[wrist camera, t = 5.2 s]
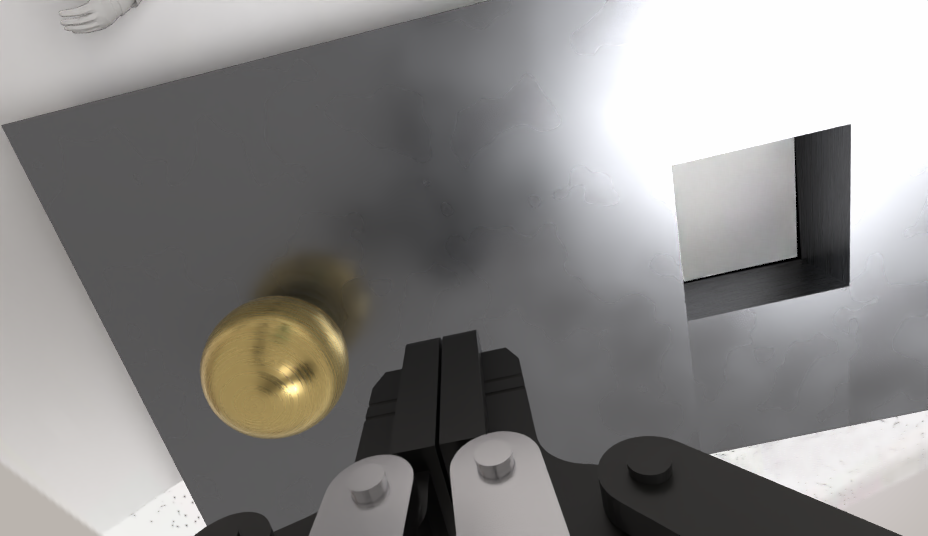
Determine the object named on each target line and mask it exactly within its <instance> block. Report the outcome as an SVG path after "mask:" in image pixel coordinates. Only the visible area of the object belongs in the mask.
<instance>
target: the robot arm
mask: <svg viewBox="0 0 928 536" xmlns="http://www.w3.org/2000/svg"><path fill="white" fill-rule="evenodd" d="M365 418H366V421H365V422H364V426H363V430H362V434H361V438H360V442H359V446H358V451H357V455H356V459H355V463H354V464H352V465H350V466H348V467H347V468H346V469H344V470H343V471H342V472H340V473H339V474H338V475H337V476H336V477H335V478H334V479H333V480H332V482H331V483H330V485H329V486H328V488H327V490H326V492H325V495H324V497H323V500H322V503H321V505H320V508H319V510H318V512H316V513H314V514H312V515H310V516H308V517H306V518H304V519H301V520H299V521H297V522H295V523H292V524H290V525H288V526H286V527H283V528H281V529H279V530H277V531H274V532H273V529H272V527H271V525H270V523H269V521H268V519H267V518H266V517H265V516H263V515H262V514H259V513H256V512H241V513H236V514H232V515H229V516H226V517H224V518H221V519H219V520H217V521H215V522H213V523H212V524H210V525H208V526H207V527H205V528H204V529H202V530H201V531H200V532H198V533H197V534H196V535H194V536H902V535H899V534H897V533H894V532H892V531H890V530H887V529H885V528H883V527H880V526H878V525H875V524H873V523H871V522H868V521H866V520H864V519H861V518H859V517H856V516H854V515H852V514H849V513H847V512H845V511H842V510H840V509H837V508H835V507H833V506H830V505H828V504H826V503H823V502H821V501H818V500H816V499H814V498H811V497H809V496H807V495H804V494H802V493H799V492H797V491H795V490H792V489H790V488H787V487H785V486H783V485H780V484H778V483H776V482H773V481H771V480H768V479H766V478H764V477H761V476H759V475H757V474H754V473H752V472H749V471H747V470H745V469H742V468H740V467H737V466H735V465H733V464H730V463H728V462H726V461H723V460H721V459H718V458H716V457H714V456H711V455H709V454H706V453H704V452H702V451H699V450H697V449H695V448H692V447H690V446H687V445H685V444H683V443H680V442H678V441H675V440H672V439H669V438H664V437H657V436H640V437H634V438H629V439H626V440H623V441H621V442H619V443H617V444H615V445H613V446H612V447H611V448H609V449H608V450H607V451H606V452H605V453H604V454H603V456H602V457H601V459H600V461H599V464H598V465H597V464H581V463H573V462H568V461H564V460H562V459H559V458H557V457H555V456H553V455H551V454H550V453H548V452H547V451H546V450H545V449H544V448H543V447H542V446H541V445H540V443H539V441H538V439H537V436H536V431H535V427H534V423H533V418H532V414H531V409H530V405H529V401H528V396H527V392H526V388H525V383H524V379H523V374H522V370H521V366H520V361H519V358H518V357H517V356H516V355H515V354H513V353H512V352H511V351H510V350H508V349H507V348H506V347H505V348H500V349H495V350H491V351H486V352H482V347H481V343H480V339H479V335H478V332H477V330H472V331H467V332H462V333H458V334H453V335H448V336H443V338H442V339H441V337H439V338H434V339H429V340H424V341H420V342H415V343H410V344H406V347H405V354H404V360H403V366H402V369H399V370H394V371H389V372H385V374H384V375H383V376H382V377H381V378H380V380H379V381H378V382H377V383H376V385H375V386H374V387H373V388H372V392H371V397H370V401H369V407H368V409H367V413H366V417H365Z"/></svg>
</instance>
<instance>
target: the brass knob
mask: <svg viewBox="0 0 928 536" xmlns="http://www.w3.org/2000/svg"><path fill="white" fill-rule="evenodd" d="M348 371H349V356H348V349H347V345H346V342H345V339H344V337H343V335H342V332H341V331H340V329H339V327H338V326H337V324H336V323H335V322H334V321H333V319H332V318H331V317H330V316H329V315H328V314H327V313H326V312H324V311H323V310H322V309H320V308H319V307H317V306H316V305H314V304H312V303H310V302H308V301H305V300H302V299H299V298H295V297H290V296H268V297H262V298H258V299H255V300H251V301H249V302H247V303H244V304H242V305H241V306H239V307H237V308H236V309H234V310H232V311H231V312H230V313H229V314H228V315H226V316H225V317H224V318H223V319H222V320H221V321H220V322H219V323H218V324H217V326H216V327H215V328H214V330H213V331H212V333H211V334H210V336H209V338H208V340H207V342H206V345H205V347H204V350H203V353H202V357H201V364H200V379H201V385H202V389H203V393H204V395H205V398H206V400H207V402H208V404H209V405H210V407H211V409H212V410H213V412H214V413H215V414H216V415H217V416H218V417H219V419H220V420H222V421H223V422H224V423H225V424H226V425H228V426H229V427H231V428H232V429H234V430H236V431H238V432H240V433H243V434H245V435H248V436H251V437H256V438H261V439H279V438H285V437H290V436H293V435H297V434H299V433H302V432H304V431H306V430H308V429H310V428H311V427H313V426H315V425H316V424H317V423H319V422H320V421H321V420H322V419H324V418H325V417H326V416H327V415H328V414H329V413H330V412H331V410H332V409H333V408H334V406H335V405H336V404H337V402H338V401H339V399H340V397H341V395H342V393H343V391H344V388H345V385H346V382H347V377H348Z"/></svg>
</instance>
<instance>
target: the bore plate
mask: <svg viewBox="0 0 928 536" xmlns="http://www.w3.org/2000/svg"><path fill="white" fill-rule="evenodd" d="M1 126H2V127H3V129H4V131H5V133H6V135H7V137H8V139H9V141H10V143H11V145H12V147H13V149H14V151H15V153H16V155H17V157H18V159H19V161H20V163H21V164H22V166H23V168H24V170H25V172H26V174H27V176H28V178H29V180H30V182H31V184H32V186H33V188H34V190H35V192H36V194H37V196H38V198H39V200H40V202H41V203H42V205H43V207H44V209H45V211H46V213H47V215H48V217H49V219H50V221H51V223H52V225H53V227H54V229H55V231H56V233H57V235H58V237H59V239H60V241H61V242H62V244H63V246H64V248H65V250H66V252H67V254H68V256H69V258H70V260H71V262H72V264H73V266H74V268H75V270H76V272H77V274H78V276H79V278H80V279H81V281H82V283H83V285H84V287H85V289H86V291H87V293H88V295H89V297H90V299H91V301H92V303H93V305H94V307H95V309H96V311H97V313H98V315H99V317H100V318H101V320H102V322H103V324H104V326H105V328H106V330H107V332H108V334H109V336H110V338H111V340H112V342H113V344H114V346H115V348H116V350H117V352H118V354H119V356H120V357H121V359H122V361H123V363H124V365H125V367H126V369H127V371H128V373H129V375H130V377H131V379H132V381H133V383H134V385H135V387H136V389H137V391H138V393H139V395H140V396H141V398H142V400H143V402H144V404H145V406H146V408H147V410H148V412H149V414H150V416H151V418H152V420H153V422H154V424H155V426H156V428H157V430H158V432H159V433H160V435H161V437H162V439H163V441H164V443H165V445H166V447H167V449H168V451H169V453H170V455H171V457H172V459H173V461H174V463H175V465H176V467H177V469H178V471H179V472H180V474H181V476H182V478H183V480H184V482H185V484H186V486H187V488H188V490H189V492H190V494H191V496H192V498H193V500H194V502H195V504H196V506H197V508H198V510H199V511H200V513H201V515H202V517H203V519H204V521H205V523H206V525H207V526H208V525H210V524H212V523H213V522H215V521H217V520H219V519H221V518H224V517H226V516H229V515H232V514H236V513H241V512H256V513H259V514H262V515H263V516H265V517H266V518H267V519H268V521H269V523H270V525H271V527H272V529H273V532H274V531H277V530H279V529H281V528H283V527H286V526H288V525H290V524H292V523H295V522H297V521H299V520H301V519H304V518H306V517H308V516H310V515H312V514H314V513H316V512H318V510H319V508H320V505H321V503H322V500H323V497H324V495H325V492H326V490H327V488H328V486H329V485H330V483H331V482H332V480H333V479H334V478H335V477H336V476H337V475H338V474H339V473H340V472H342V471H343V470H344V469H346V468H347V467H348V466H350V465H352V464H354V463H355V459H356V455H357V451H358V446H359V442H360V438H361V434H362V430H363V426H364V422H365V421H366V418H365V417H366V413H367V409H368V407H369V401H370V397H371V392H372V388H373V387H374V386H375V385H376V383H377V382H378V381H379V380H380V378H381V377H382V376H383V375H384V374H385V372H389V371H394V370H399V369H402V366H403V360H404V354H405V347H406V344H410V343H415V342H420V341H424V340H429V339H434V338H439V337H441V339H442V338H443V336H448V335H453V334H458V333H462V332H467V331H472V330H477V332H478V335H479V339H480V343H481V347H482V352H486V351H491V350H495V349H500V348H505V347H506V348H507V349H508V350H510V351H511V352H512V353H513V354H515V355H516V356H517V357H518V358H519V361H520V366H521V370H522V374H523V379H524V383H525V388H526V392H527V396H528V401H529V405H530V409H531V414H532V418H533V423H534V427H535V431H536V436H537V439H538V441H539V443H540V445H541V446H542V447H543V448H544V449H545V450H546V451H547V452H548V453H550V454H551V455H553V456H555V457H557V458H559V459H562V460H564V461H568V462H573V463H581V464H597V465H598V464H599V461H600V459H601V457H602V456H603V454H604V453H605V452H606V451H607V450H608V449H609V448H611V447H612V446H613V445H615V444H617V443H619V442H621V441H623V440H626V439H629V438H634V437H640V436H657V437H664V438H669V439H672V440H675V441H678V442H680V443H683V444H685V445H687V446H690V447H692V448H695V449H697V450H699V451H702V452H704V453H706V454H712V453H717V452H722V451H727V450H732V449H737V448H742V447H747V446H752V445H757V444H762V443H767V442H772V441H777V440H782V439H787V438H792V437H797V436H802V435H807V434H812V433H817V432H821V431H826V430H831V429H836V428H841V427H846V426H851V425H856V424H861V423H866V422H871V421H876V420H881V419H886V418H891V417H896V416H901V415H906V414H911V413H916V412H921V411H926V410H928V0H489V1H486V2H482V3H478V4H474V5H470V6H466V7H462V8H458V9H454V10H450V11H446V12H443V13H439V14H435V15H431V16H427V17H423V18H419V19H415V20H411V21H407V22H403V23H400V24H396V25H392V26H388V27H384V28H380V29H376V30H372V31H368V32H364V33H360V34H357V35H353V36H349V37H345V38H341V39H337V40H333V41H329V42H325V43H321V44H317V45H314V46H310V47H306V48H302V49H298V50H294V51H290V52H286V53H282V54H278V55H274V56H271V57H267V58H263V59H259V60H255V61H251V62H247V63H243V64H239V65H235V66H231V67H228V68H224V69H220V70H216V71H212V72H208V73H204V74H200V75H196V76H192V77H188V78H185V79H181V80H177V81H173V82H169V83H165V84H161V85H157V86H153V87H149V88H145V89H142V90H138V91H134V92H130V93H126V94H122V95H118V96H114V97H110V98H106V99H102V100H99V101H95V102H91V103H87V104H83V105H79V106H75V107H71V108H67V109H63V110H60V111H56V112H52V113H48V114H44V115H40V116H36V117H32V118H28V119H24V120H20V121H17V122H13V123H9V124H5V125H1ZM792 137H794V151H795V190H796V230H797V257H793V258H788V259H784V260H779V261H775V262H770V263H766V264H761V265H757V266H752V267H748V268H743V269H739V270H734V271H729V272H725V273H720V274H716V275H711V276H707V277H702V278H698V279H693V280H689V281H684V282H683V274H682V264H681V254H680V245H679V235H678V225H677V216H676V206H675V196H674V187H673V177H672V167H671V166H672V165H676V164H680V163H684V162H689V161H693V160H697V159H702V158H706V157H710V156H714V155H719V154H723V153H727V152H732V151H736V150H740V149H744V148H749V147H753V146H757V145H762V144H766V143H770V142H774V141H779V140H783V139H787V138H792ZM268 296H290V297H295V298H299V299H302V300H305V301H308V302H310V303H312V304H314V305H316V306H317V307H319V308H320V309H322V310H323V311H324V312H326V313H327V314H328V315H329V316H330V317H331V318H332V319H333V321H334V322H335V323H336V324H337V326H338V327H339V329H340V331H341V332H342V335H343V337H344V339H345V342H346V345H347V349H348V356H349V371H348V377H347V382H346V385H345V388H344V391H343V393H342V395H341V397H340V399H339V401H338V402H337V404H336V405H335V406H334V408H333V409H332V410H331V412H330V413H329V414H328V415H327V416H326V417H325V418H324V419H322V420H321V421H320V422H319V423H317V424H316V425H315V426H313V427H311V428H310V429H308V430H306V431H304V432H302V433H299V434H297V435H293V436H290V437H285V438H279V439H261V438H256V437H251V436H248V435H245V434H243V433H240V432H238V431H236V430H234V429H232V428H231V427H229V426H228V425H226V424H225V423H224V422H223V421H222V420H220V419H219V417H218V416H217V415H216V414H215V413H214V412H213V410H212V409H211V407H210V405H209V404H208V402H207V400H206V398H205V395H204V393H203V389H202V385H201V379H200V364H201V357H202V353H203V350H204V347H205V345H206V342H207V340H208V338H209V336H210V334H211V333H212V331H213V330H214V328H215V327H216V326H217V324H218V323H219V322H220V321H221V320H222V319H223V318H224V317H225V316H226V315H228V314H229V313H230V312H231V311H232V310H234V309H236V308H237V307H239V306H241V305H242V304H244V303H247V302H249V301H251V300H255V299H258V298H262V297H268Z"/></svg>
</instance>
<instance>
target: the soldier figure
mask: <svg viewBox="0 0 928 536" xmlns="http://www.w3.org/2000/svg"><path fill="white" fill-rule="evenodd" d="M141 1H142V0H89V1H88V3H87V4H85V5H83V6H80V7H77V8H75V9H68V10H62V11H59V15H60V16H62V17H69V16H79V15H84V16H82V17H78V18H73V19H65V20H61V21H60V23H61V24H62V25H68V26H65V27H64V29H65V30H67V31H72V32H73V33H90V32H94V31H98V30H102V29H105V28H107V27H108V26H110V25H112V24H113V23H114V22H115V21H116V19H117V18H118V17H119V16H122V15H124V14H125V13H126V12H127V11H128V10H130V7H137V6H138V5H139V4H140V2H141ZM85 14H86V15H85ZM83 23H84V24H83ZM73 24H80V25H73Z"/></svg>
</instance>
